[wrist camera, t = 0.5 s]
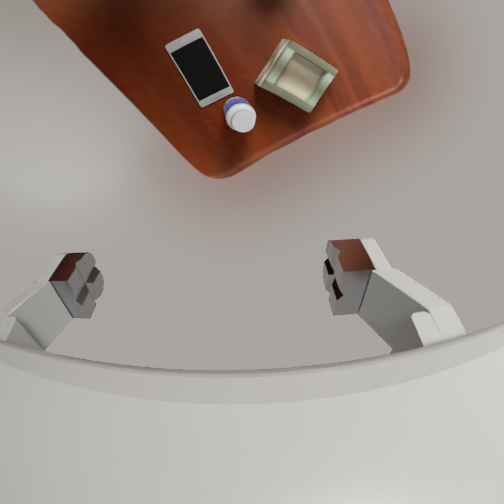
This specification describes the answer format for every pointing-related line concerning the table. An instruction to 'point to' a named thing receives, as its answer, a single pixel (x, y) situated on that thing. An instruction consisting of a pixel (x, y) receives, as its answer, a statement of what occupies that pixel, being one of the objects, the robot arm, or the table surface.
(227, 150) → the table surface
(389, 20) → the table surface
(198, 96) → the smartphone
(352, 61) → the table surface
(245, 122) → the pill bottle
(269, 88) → the notched stand
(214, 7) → the table surface
